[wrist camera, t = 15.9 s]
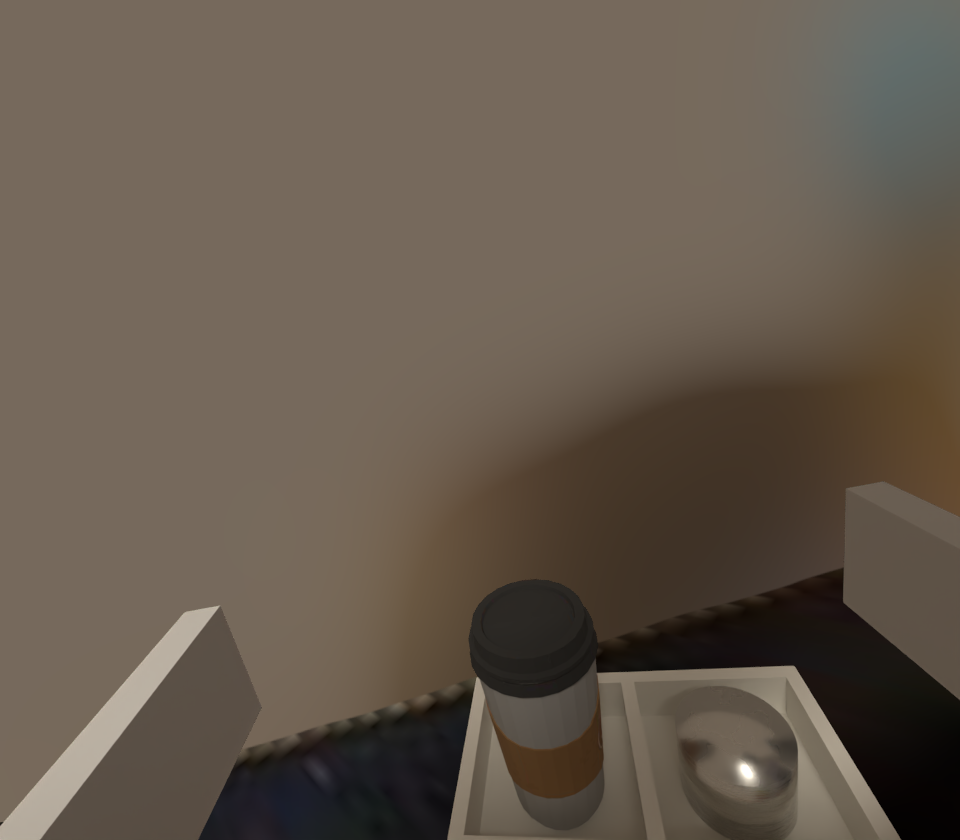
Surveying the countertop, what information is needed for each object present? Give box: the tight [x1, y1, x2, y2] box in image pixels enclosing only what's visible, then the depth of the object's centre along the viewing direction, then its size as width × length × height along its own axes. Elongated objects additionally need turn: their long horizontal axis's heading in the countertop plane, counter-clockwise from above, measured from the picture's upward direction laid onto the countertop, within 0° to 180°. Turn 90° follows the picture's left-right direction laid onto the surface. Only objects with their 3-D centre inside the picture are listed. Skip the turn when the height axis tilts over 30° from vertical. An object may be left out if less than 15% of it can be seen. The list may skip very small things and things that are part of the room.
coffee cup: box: [469, 579, 604, 830], centre depth 32 cm, size 8×8×15 cm
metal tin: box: [675, 686, 798, 840], centre depth 31 cm, size 7×7×5 cm
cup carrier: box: [447, 666, 901, 840], centre depth 33 cm, size 25×13×4 cm, turn 82°
